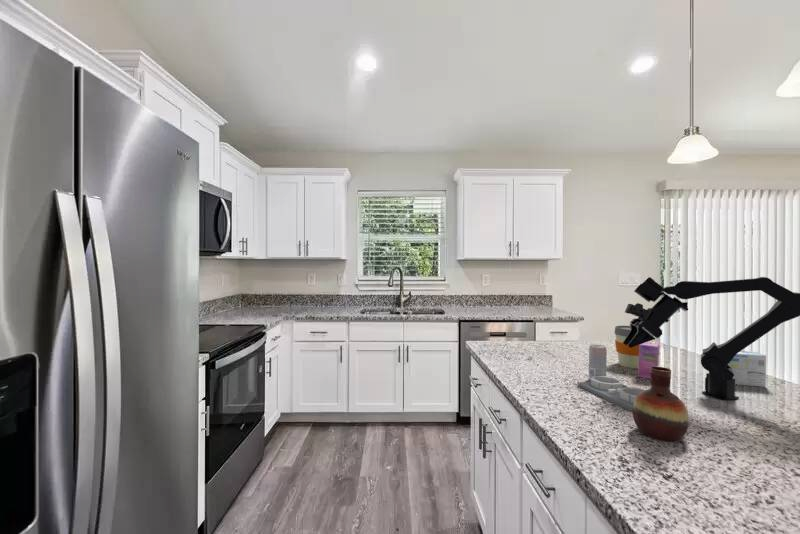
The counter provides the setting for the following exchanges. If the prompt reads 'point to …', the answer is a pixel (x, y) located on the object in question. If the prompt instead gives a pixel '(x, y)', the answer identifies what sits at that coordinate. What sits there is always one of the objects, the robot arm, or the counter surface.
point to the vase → (660, 409)
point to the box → (648, 358)
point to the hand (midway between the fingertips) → (626, 345)
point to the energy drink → (597, 360)
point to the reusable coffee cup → (626, 348)
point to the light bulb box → (749, 368)
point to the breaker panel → (612, 390)
